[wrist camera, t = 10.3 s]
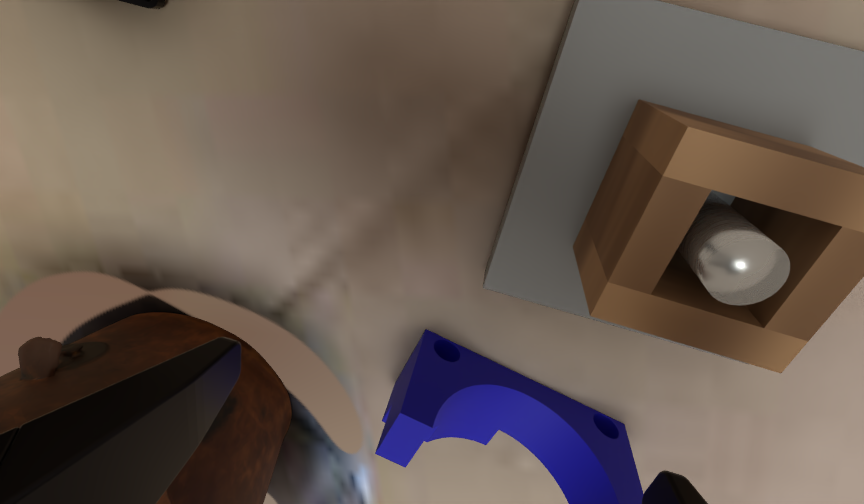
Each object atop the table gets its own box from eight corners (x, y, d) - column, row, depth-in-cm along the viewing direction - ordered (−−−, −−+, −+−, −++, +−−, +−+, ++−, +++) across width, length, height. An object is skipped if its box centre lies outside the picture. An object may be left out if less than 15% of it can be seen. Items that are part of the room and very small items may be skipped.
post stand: (485, 271, 21) (471, 371, 15) (579, -14, 15) (620, -44, 9) (733, 342, 20) (826, 477, 14) (928, 73, 15) (1226, 103, 8)
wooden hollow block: (572, 246, 18) (590, 315, 14) (638, 99, 15) (687, 126, 11) (715, 288, 18) (780, 373, 13) (810, 146, 15) (933, 194, 10)
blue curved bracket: (395, 380, 25) (364, 471, 20) (426, 327, 23) (400, 412, 18) (577, 466, 26) (592, 576, 21) (623, 421, 24) (653, 531, 19)
